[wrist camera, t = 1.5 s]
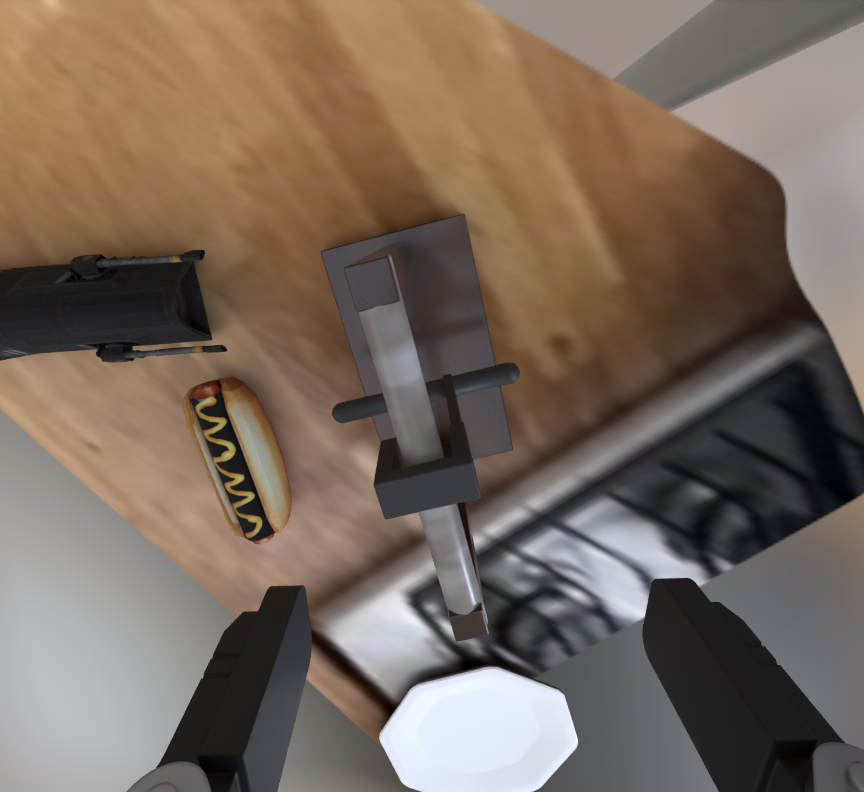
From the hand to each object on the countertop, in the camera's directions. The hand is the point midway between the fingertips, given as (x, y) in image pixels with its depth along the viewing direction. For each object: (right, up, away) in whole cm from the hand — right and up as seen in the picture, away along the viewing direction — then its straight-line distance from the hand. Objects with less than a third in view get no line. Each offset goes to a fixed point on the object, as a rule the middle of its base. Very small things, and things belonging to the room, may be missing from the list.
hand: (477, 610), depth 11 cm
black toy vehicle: (-28, +12, +23) cm, 38 cm away
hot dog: (-15, +1, +27) cm, 31 cm away
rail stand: (-2, +8, +25) cm, 26 cm away
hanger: (-1, +5, +17) cm, 18 cm away
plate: (+4, -31, +39) cm, 50 cm away
